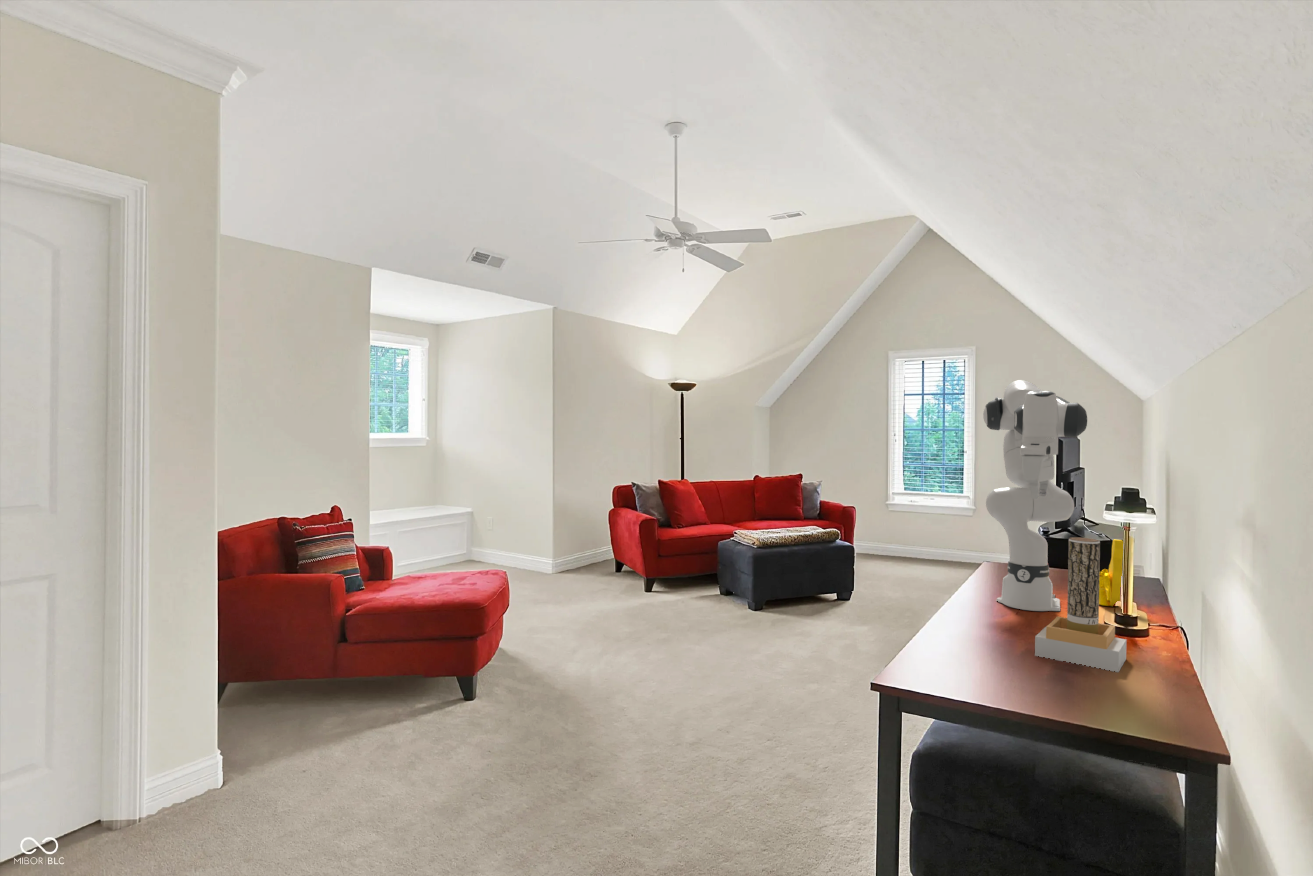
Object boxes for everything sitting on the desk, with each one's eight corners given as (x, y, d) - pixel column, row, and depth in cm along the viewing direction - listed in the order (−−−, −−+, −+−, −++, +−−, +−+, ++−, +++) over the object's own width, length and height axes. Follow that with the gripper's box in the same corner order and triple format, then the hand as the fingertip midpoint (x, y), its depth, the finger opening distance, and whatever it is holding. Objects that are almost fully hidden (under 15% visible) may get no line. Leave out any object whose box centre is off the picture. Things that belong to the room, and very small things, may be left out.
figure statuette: (1089, 598, 240) (1091, 534, 240) (1116, 600, 237) (1117, 536, 237) (1101, 610, 224) (1102, 542, 223) (1129, 613, 221) (1131, 544, 220)
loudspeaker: (1046, 644, 188) (1046, 614, 188) (1126, 659, 176) (1126, 627, 176) (1034, 655, 178) (1035, 624, 178) (1118, 672, 166) (1119, 639, 166)
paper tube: (1064, 637, 177) (1065, 539, 176) (1070, 631, 182) (1072, 536, 181) (1095, 643, 172) (1097, 542, 172) (1100, 637, 177) (1102, 539, 177)
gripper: (1036, 447, 205) (1035, 493, 205) (1018, 448, 190) (1017, 499, 190) (1060, 447, 201) (1059, 495, 201) (1044, 449, 186) (1043, 500, 186)
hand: (1039, 497), depth 196 cm, fingers open, 8 cm apart
